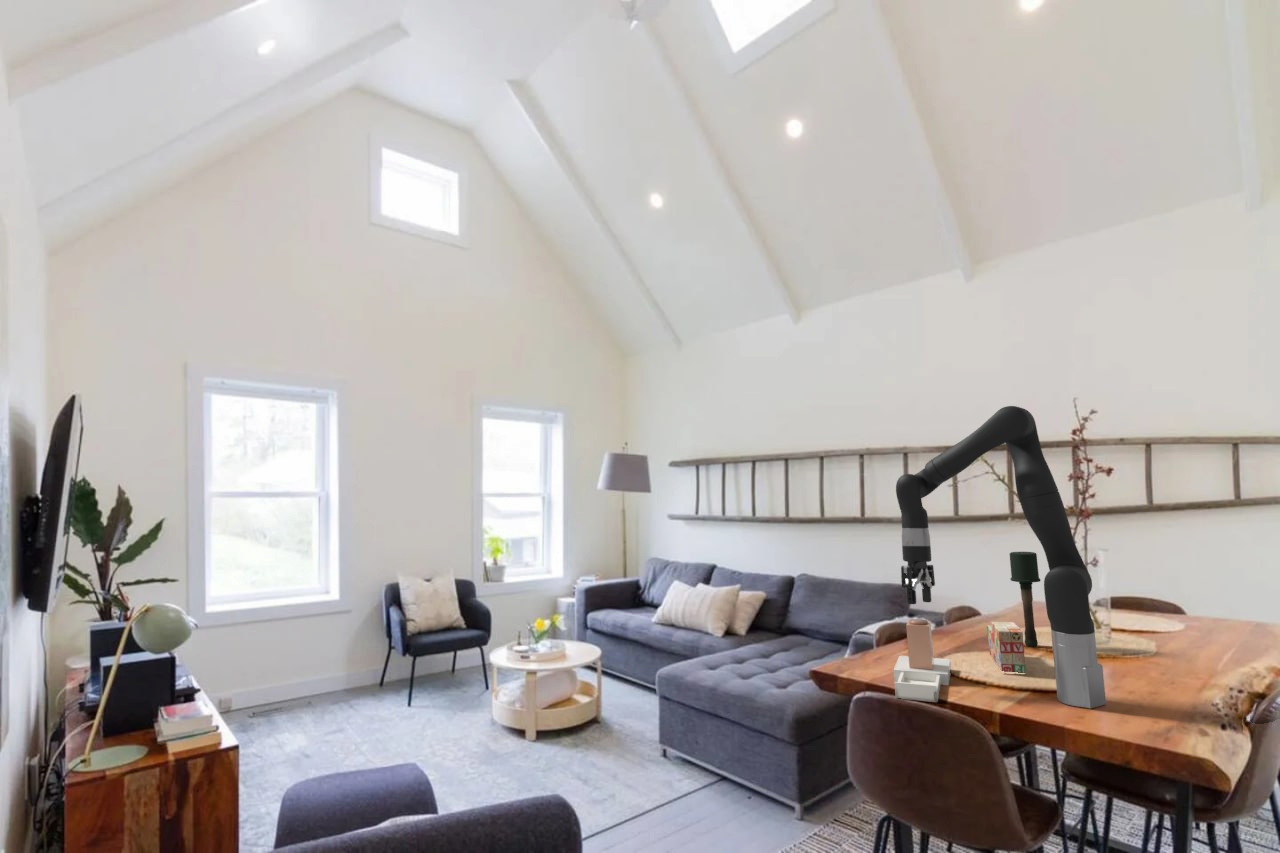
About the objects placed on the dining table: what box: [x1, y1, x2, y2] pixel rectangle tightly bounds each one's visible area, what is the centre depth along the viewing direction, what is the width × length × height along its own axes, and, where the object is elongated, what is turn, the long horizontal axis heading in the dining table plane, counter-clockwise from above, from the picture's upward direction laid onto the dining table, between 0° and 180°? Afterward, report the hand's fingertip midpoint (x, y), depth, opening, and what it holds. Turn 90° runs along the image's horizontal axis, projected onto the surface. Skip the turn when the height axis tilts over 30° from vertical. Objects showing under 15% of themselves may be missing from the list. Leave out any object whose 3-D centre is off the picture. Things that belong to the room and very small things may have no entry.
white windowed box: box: [893, 655, 952, 686], centre depth 193 cm, size 16×14×3 cm
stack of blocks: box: [986, 621, 1027, 674], centre depth 200 cm, size 21×6×12 cm, turn 161°
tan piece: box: [905, 618, 934, 670], centre depth 192 cm, size 6×6×13 cm
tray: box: [894, 672, 942, 703], centre depth 179 cm, size 15×10×4 cm, turn 153°
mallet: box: [1009, 551, 1041, 648], centre depth 219 cm, size 8×9×30 cm
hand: (919, 603), depth 188 cm, fingers open, 8 cm apart
